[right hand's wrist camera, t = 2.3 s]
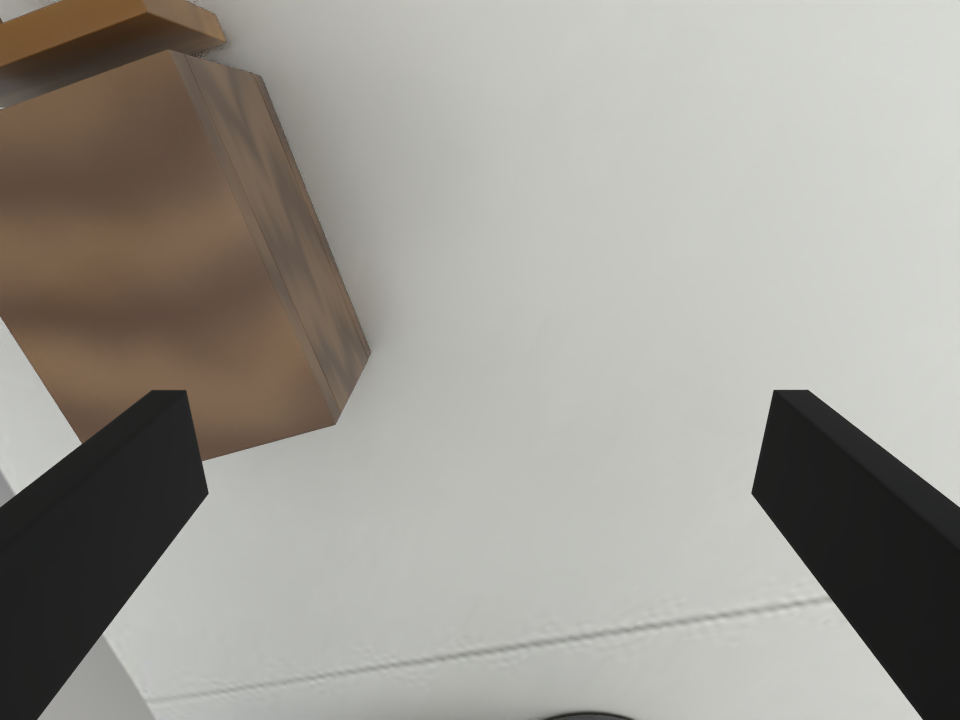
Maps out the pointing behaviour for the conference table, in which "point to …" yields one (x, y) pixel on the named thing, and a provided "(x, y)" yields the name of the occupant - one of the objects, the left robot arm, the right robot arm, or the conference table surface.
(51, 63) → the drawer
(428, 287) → the conference table surface
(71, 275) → the wooden grain block
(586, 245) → the conference table surface
